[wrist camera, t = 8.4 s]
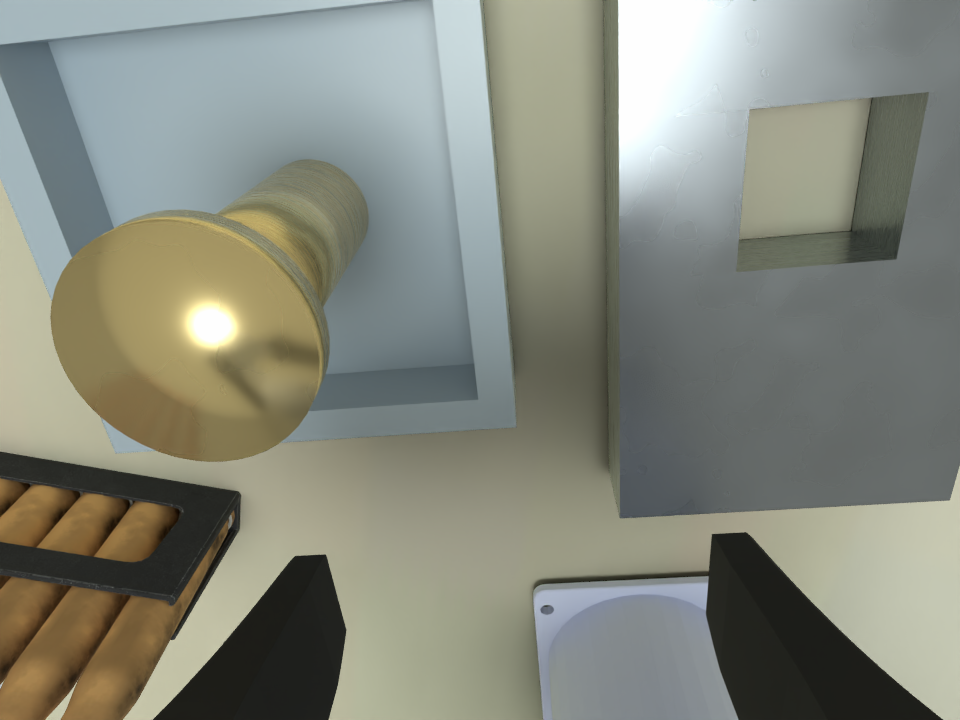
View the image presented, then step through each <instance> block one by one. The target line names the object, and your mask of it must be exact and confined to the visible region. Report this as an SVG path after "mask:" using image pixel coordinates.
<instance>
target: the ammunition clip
mask: <svg viewBox="0 0 960 720" xmlns="http://www.w3.org/2000/svg"><path fill="white" fill-rule="evenodd" d="M239 520H240V494H239V492H238V491H232V490H226V489H220V488H214V487H208V486H202V485H196V484H190V483H184V482H178V481H172V480H166V479H160V478H154V477H148V476H142V475H136V474H130V473H124V472H118V471H112V470H106V469H100V468H94V467H88V466H82V465H76V464H70V463H64V462H58V461H52V460H46V459H40V458H34V457H28V456H22V455H16V454H10V453H4V452H0V684H1V683H2V682H3V681H4V683H3V685H2V687H1V689H0V720H45V719H46V718H47V717H48V716H49V715H50V714H51V712H52V711H53V710H54V709H55V708H56V707H57V706H58V705H59V704H60V703H61V702H62V700H63V699H64V698H65V697H66V696H67V695H68V694H69V692H70V691H71V689H72V688H73V687H74V685H75V684H76V682H77V680H78V679H79V680H78V682H77V684H76V686H75V689H74V691H73V694H72V697H71V699H70V702H69V704H68V707H67V709H66V711H65V713H64V715H63V716H62V718H61V720H123V719H124V717H125V716H126V715H127V714H128V712H129V711H130V710H131V708H132V707H133V706H134V704H135V703H136V702H137V700H138V698H139V697H140V695H141V693H142V691H143V689H144V687H145V686H146V684H147V682H148V680H149V678H150V676H151V674H152V673H153V671H154V669H155V667H156V665H157V663H158V661H159V660H160V658H161V656H162V654H163V652H164V650H165V648H166V647H167V645H168V643H169V641H170V640H174V639H175V638H176V636H177V635H178V633H179V631H180V630H181V628H182V626H183V625H184V623H185V621H186V619H187V618H188V616H189V614H190V613H191V611H192V609H193V608H194V606H195V604H196V602H197V601H198V599H199V597H200V596H201V594H202V592H203V591H204V589H205V587H206V585H207V584H208V582H209V580H210V579H211V577H212V575H213V574H214V572H215V570H216V569H217V567H218V565H219V563H220V562H221V560H222V558H223V557H224V555H225V553H226V552H227V550H228V548H229V546H230V545H231V543H232V541H233V540H234V538H235V536H236V535H237V533H238V531H239ZM81 674H82V675H81ZM79 677H80V678H79ZM4 679H5V680H4Z"/></svg>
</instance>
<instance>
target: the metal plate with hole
mask: <svg viewBox="0 0 960 720" xmlns="http://www.w3.org/2000/svg"><path fill="white" fill-rule="evenodd" d="M603 12H604V97H605V182H606V268H607V353H608V439H609V473H610V478H611V482H612V486H613V491H614V495H615V499H616V504H617V508H618V512H619V517H620V518H636V517H654V516H673V515H691V514H709V513H727V512H745V511H764V510H782V509H800V508H818V507H836V506H855V505H873V504H891V503H909V502H928V501H946V500H950V498H951V494H952V491H953V487H954V483H955V480H956V476H957V473H958V469H959V466H960V0H603ZM872 97H873V99H872V105H871V111H870V117H869V124H868V130H867V136H866V142H865V149H864V155H863V161H862V167H861V174H860V180H859V186H858V192H857V199H856V205H855V211H854V217H853V224H852V230H851V231H845V232H833V233H821V234H808V235H796V236H784V237H772V238H760V239H748V240H739V231H740V219H741V207H742V195H743V182H744V170H745V158H746V146H747V133H748V121H749V109H759V108H769V107H779V106H790V105H800V104H810V103H821V102H831V101H841V100H852V99H862V98H872Z"/></svg>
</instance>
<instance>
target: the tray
mask: <svg viewBox="0 0 960 720" xmlns="http://www.w3.org/2000/svg"><path fill="white" fill-rule="evenodd" d="M304 159H313V160H320V161H324V162H327V163H330V164H332V165H334V166H336V167H338V168H340V169H341V170H343V171H344V172H346V173H347V174H348V175H349V176H350V177H351V178H352V179H353V180H354V181H355V182H356V184H357V185H358V187H359V188H360V190H361V191H362V193H363V195H364V198H365V200H366V203H367V207H368V213H369V224H368V230H367V234H366V237H365V239H364V241H363V243H362V244H361V246H360V248H359V249H358V251H357V253H356V254H355V256H354V258H353V259H352V261H351V263H350V264H349V266H348V268H347V269H346V271H345V272H344V274H343V276H342V277H341V279H340V281H339V282H338V284H337V286H336V287H335V289H334V291H333V292H332V294H331V295H330V297H329V299H328V300H327V302H326V304H325V305H324V307H323V310H324V313H325V316H326V320H327V323H328V330H329V336H330V355H329V362H328V368H327V371H326V374H325V377H324V380H323V382H322V384H321V386H320V388H319V390H318V393H317V395H316V397H315V399H314V401H313V403H312V405H311V407H310V409H309V411H308V413H307V415H306V416H305V418H304V419H303V421H302V422H301V423H300V425H299V426H298V427H297V428H296V429H295V430H294V431H293V432H292V433H291V434H290V435H289V436H288V437H287V438H286V439H284V440H283V441H282V442H280V443H283V442H299V441H314V440H329V439H345V438H360V437H375V436H391V435H406V434H421V433H437V432H452V431H467V430H483V429H498V428H513V427H516V396H515V372H514V361H513V349H512V337H511V325H510V313H509V301H508V289H507V277H506V265H505V253H504V241H503V230H502V218H501V206H500V194H499V182H498V170H497V158H496V146H495V134H494V122H493V111H492V99H491V87H490V75H489V63H488V51H487V39H486V27H485V15H484V3H483V0H0V179H1V181H2V184H3V186H4V189H5V191H6V193H7V196H8V198H9V200H10V203H11V205H12V208H13V210H14V212H15V215H16V217H17V220H18V222H19V224H20V227H21V229H22V231H23V234H24V236H25V239H26V241H27V243H28V246H29V248H30V250H31V253H32V255H33V258H34V260H35V262H36V265H37V267H38V270H39V272H40V274H41V277H42V279H43V281H44V284H45V286H46V289H47V291H48V293H49V296H50V298H51V301H52V299H53V295H54V291H55V287H56V284H57V282H58V280H59V278H60V275H61V273H62V271H63V270H64V268H65V267H66V265H67V264H68V263H69V261H70V260H71V259H72V258H73V257H74V256H75V255H76V253H77V252H78V251H79V250H80V249H81V248H83V247H84V246H86V245H87V244H88V243H90V242H91V241H92V240H94V239H96V238H97V237H99V236H101V235H103V234H104V233H106V232H108V231H110V230H112V229H113V228H115V227H117V226H119V225H121V224H123V223H125V222H127V221H129V220H131V219H133V218H135V217H138V216H141V215H144V214H147V213H151V212H157V211H163V210H181V209H185V210H195V211H203V212H207V213H212V214H216V213H217V212H219V211H220V210H222V209H223V208H225V207H226V206H227V205H229V204H230V203H232V202H233V201H235V200H236V199H237V198H239V197H240V196H242V195H243V194H244V193H246V192H247V191H249V190H250V189H252V188H253V187H254V186H256V185H257V184H259V183H260V182H261V181H263V180H264V179H266V178H267V177H269V176H270V175H271V174H273V173H274V172H276V171H277V170H279V169H280V168H281V167H283V166H284V165H287V164H289V163H291V162H294V161H298V160H304ZM101 420H102V422H103V424H104V427H105V429H106V432H107V434H108V436H109V439H110V441H111V443H112V446H113V448H114V451H115V453H130V452H145V451H156V450H154V449H151V448H149V447H146V446H144V445H142V444H140V443H138V442H136V441H134V440H133V439H131V438H129V437H127V436H126V435H124V434H123V433H121V432H120V431H118V430H117V429H115V428H114V427H112V426H111V425H110V424H109V423H107V422H106V421H105V420H104V419H103V418H101Z"/></svg>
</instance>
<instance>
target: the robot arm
mask: <svg viewBox="0 0 960 720" xmlns="http://www.w3.org/2000/svg"><path fill="white" fill-rule="evenodd" d="M533 603H534V615H535V626H536V638H537V650H538V662H539V674H540V686H541V698H542V709H543V720H943V719H941V718H940V717H939V716H938V715H936V714H935V713H934V712H933V711H931V710H930V709H929V708H928V707H926V706H925V705H924V704H923V703H921V702H920V701H919V700H918V699H917V698H915V697H914V696H913V695H912V694H910V693H909V692H908V691H907V690H906V689H904V688H903V687H902V686H901V685H900V684H899V683H897V682H896V681H895V680H894V679H893V678H892V677H890V676H889V675H888V674H887V673H886V672H885V671H884V670H882V669H881V668H880V667H879V666H878V665H877V664H876V663H875V662H874V661H872V660H871V659H870V658H869V657H868V656H867V655H866V654H865V653H864V652H863V651H861V650H860V649H859V648H858V647H857V646H856V645H855V644H854V643H853V642H852V641H851V640H850V639H849V638H848V637H847V636H845V635H844V634H843V633H842V632H841V631H840V630H839V629H838V628H837V627H836V626H835V625H834V624H833V623H832V622H831V621H830V620H829V619H828V618H827V617H826V616H825V615H824V614H823V613H822V612H821V611H820V610H819V609H818V608H817V607H816V606H815V605H814V604H813V603H812V602H811V601H810V600H809V599H808V598H807V597H806V596H805V595H804V594H803V593H802V592H801V590H800V589H799V588H798V587H797V586H796V585H795V584H794V583H793V582H792V581H791V580H790V579H789V578H788V577H787V576H786V575H785V573H784V572H783V571H782V570H781V569H780V568H779V567H778V566H777V565H776V564H775V563H774V561H773V560H772V559H771V558H770V557H769V556H768V555H767V554H766V553H765V551H764V550H763V549H762V548H761V547H760V546H759V545H758V544H757V542H756V541H755V540H754V539H753V538H752V537H751V536H750V535H749V534H748V533H746V532H744V533H725V534H712V541H711V554H710V566H709V576H701V577H680V578H660V579H639V580H618V581H598V582H577V583H556V584H543V585H539V586H538V587H536V588H535V589H534V591H533ZM544 605H550V606H548V607H545V606H544ZM345 636H346V627H345V624H344V620H343V616H342V613H341V609H340V605H339V601H338V598H337V594H336V590H335V586H334V583H333V579H332V575H331V572H330V568H329V564H328V560H327V557H326V555H308V556H295V557H294V558H293V559H292V560H291V561H290V562H289V563H288V565H287V566H286V567H285V568H284V570H283V571H282V572H281V573H280V575H279V576H278V577H277V578H276V580H275V581H274V582H273V583H272V585H271V586H270V587H269V589H268V590H267V591H266V592H265V594H264V595H263V596H262V597H261V599H260V600H259V601H258V602H257V604H256V605H255V606H254V607H253V609H252V610H251V611H250V612H249V614H248V615H247V616H246V617H245V618H244V620H243V621H242V622H241V623H240V624H239V626H238V627H237V628H236V629H235V630H234V632H233V633H232V634H231V635H230V636H229V638H228V639H227V640H226V641H225V642H224V643H223V645H222V646H221V647H220V648H219V649H218V651H217V652H216V653H215V654H214V655H213V656H212V657H211V658H210V660H209V661H208V662H207V663H206V664H205V665H204V666H203V667H202V668H201V669H200V671H199V672H198V673H197V674H196V675H195V676H194V677H193V678H192V679H191V680H190V682H189V683H188V684H187V685H186V686H185V687H184V688H183V689H182V690H181V691H180V692H179V694H178V695H177V696H176V697H175V698H174V699H173V700H172V701H171V702H170V703H169V704H168V705H167V706H166V707H165V708H164V709H163V710H162V711H161V712H160V713H159V714H158V715H157V716H156V717H155V718H154V719H153V720H328V719H329V716H330V712H331V708H332V705H333V701H334V697H335V694H336V690H337V686H338V681H339V675H340V669H341V663H342V656H343V650H344V643H345Z"/></svg>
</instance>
